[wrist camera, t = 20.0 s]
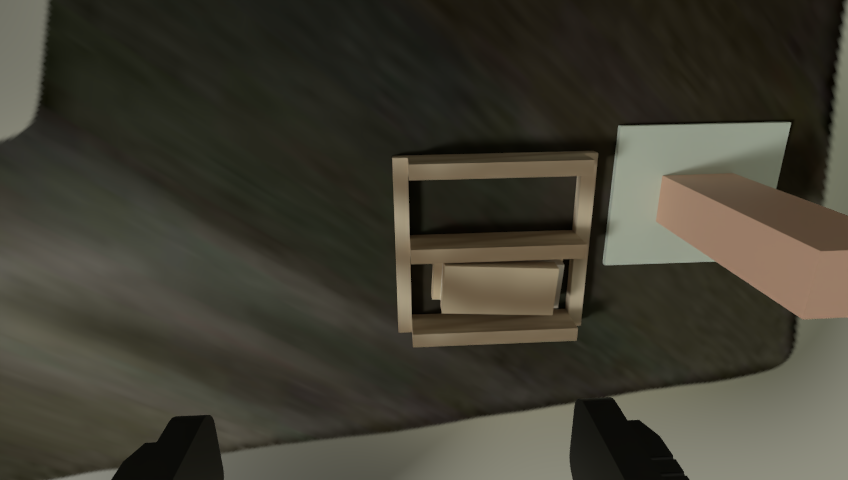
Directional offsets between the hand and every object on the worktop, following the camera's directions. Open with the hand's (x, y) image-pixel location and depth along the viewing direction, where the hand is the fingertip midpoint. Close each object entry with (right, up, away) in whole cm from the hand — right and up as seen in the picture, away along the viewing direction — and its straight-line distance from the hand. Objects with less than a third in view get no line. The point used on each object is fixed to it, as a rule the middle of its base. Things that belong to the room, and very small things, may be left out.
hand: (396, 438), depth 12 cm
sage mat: (+23, +8, +33) cm, 41 cm away
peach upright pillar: (+23, +8, +32) cm, 41 cm away
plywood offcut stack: (+7, +2, +34) cm, 35 cm away
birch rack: (+6, +4, +33) cm, 34 cm away
